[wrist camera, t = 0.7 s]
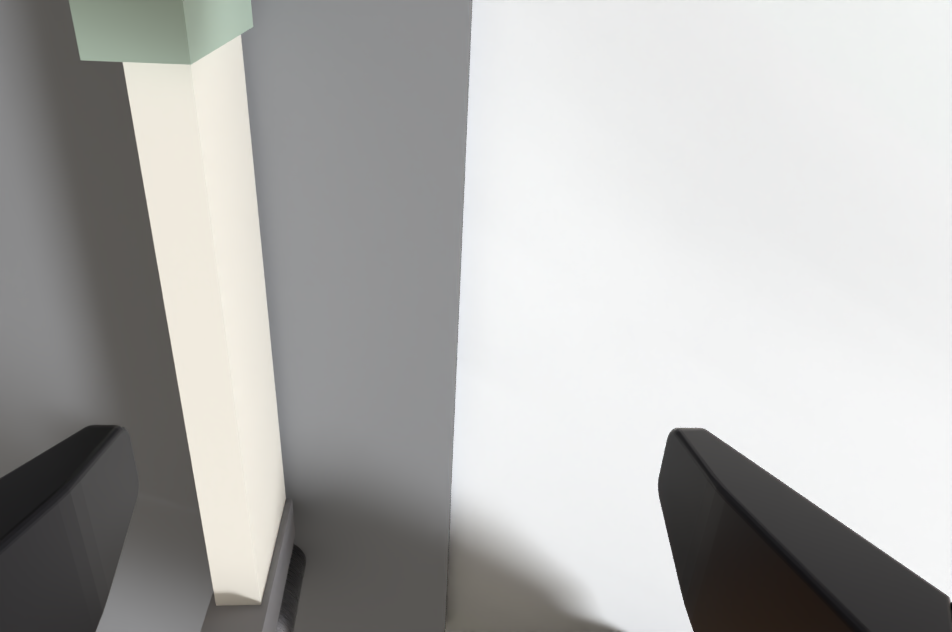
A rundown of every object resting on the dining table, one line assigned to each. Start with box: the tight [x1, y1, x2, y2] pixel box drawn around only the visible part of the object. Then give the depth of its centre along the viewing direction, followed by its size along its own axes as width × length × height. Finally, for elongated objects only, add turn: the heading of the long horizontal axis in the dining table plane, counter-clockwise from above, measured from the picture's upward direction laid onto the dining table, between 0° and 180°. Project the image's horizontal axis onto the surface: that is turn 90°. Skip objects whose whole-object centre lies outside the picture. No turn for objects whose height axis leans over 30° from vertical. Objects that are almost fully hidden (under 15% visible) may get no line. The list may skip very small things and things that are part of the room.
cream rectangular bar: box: [69, 0, 295, 632], centre depth 18 cm, size 18×2×5 cm, turn 177°
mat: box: [0, 0, 472, 632], centre depth 21 cm, size 27×26×1 cm
